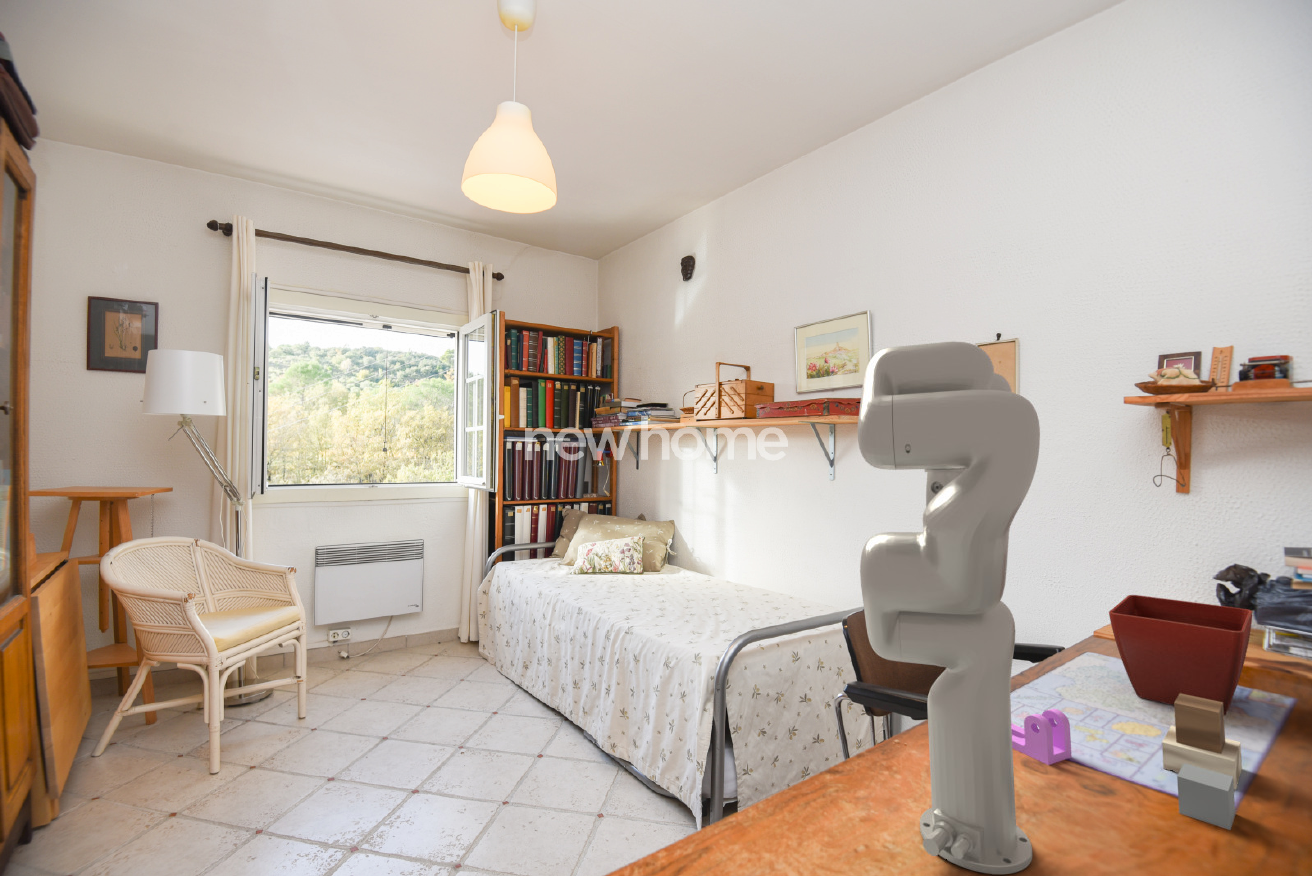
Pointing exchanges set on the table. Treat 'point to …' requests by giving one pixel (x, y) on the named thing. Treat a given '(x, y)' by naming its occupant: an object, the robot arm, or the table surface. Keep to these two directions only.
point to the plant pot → (1181, 647)
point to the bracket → (1044, 737)
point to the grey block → (1206, 795)
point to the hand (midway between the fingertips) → (952, 562)
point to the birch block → (1202, 756)
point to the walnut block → (1199, 723)
